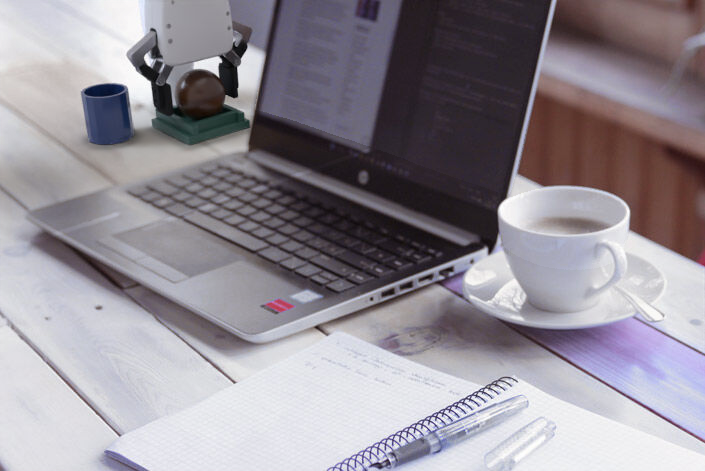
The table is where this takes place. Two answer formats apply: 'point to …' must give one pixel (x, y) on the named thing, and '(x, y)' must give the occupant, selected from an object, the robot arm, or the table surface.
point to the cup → (107, 113)
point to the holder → (200, 124)
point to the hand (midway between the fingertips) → (197, 104)
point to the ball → (199, 94)
